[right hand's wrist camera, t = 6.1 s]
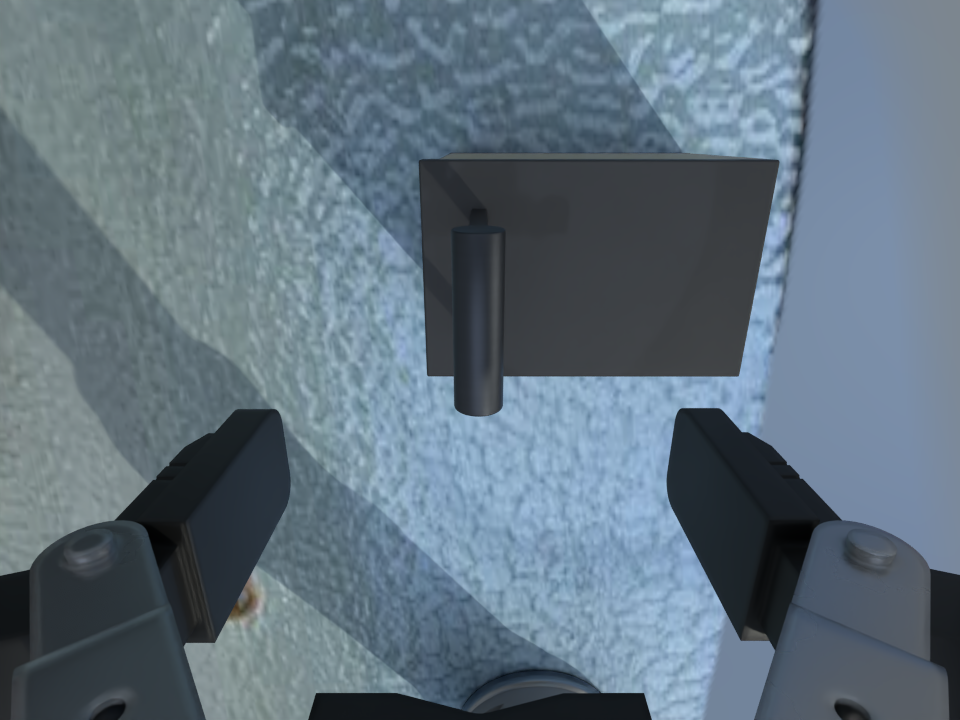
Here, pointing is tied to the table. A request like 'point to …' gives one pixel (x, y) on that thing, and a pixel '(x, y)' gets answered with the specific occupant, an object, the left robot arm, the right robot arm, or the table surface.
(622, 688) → the table surface
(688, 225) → the lid
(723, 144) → the table surface
